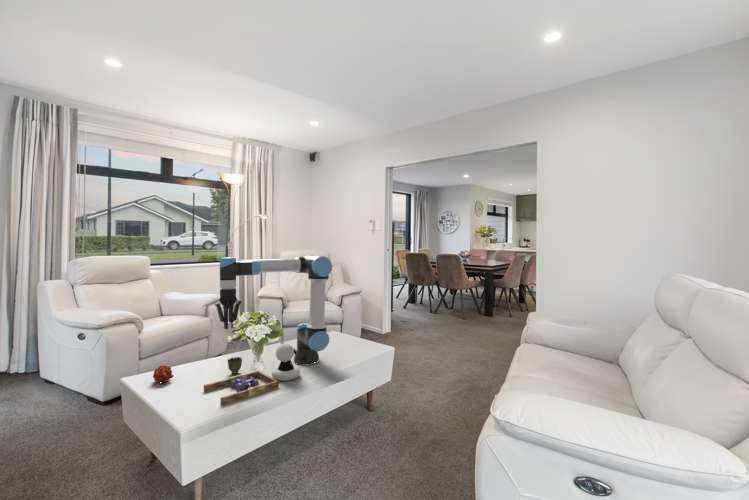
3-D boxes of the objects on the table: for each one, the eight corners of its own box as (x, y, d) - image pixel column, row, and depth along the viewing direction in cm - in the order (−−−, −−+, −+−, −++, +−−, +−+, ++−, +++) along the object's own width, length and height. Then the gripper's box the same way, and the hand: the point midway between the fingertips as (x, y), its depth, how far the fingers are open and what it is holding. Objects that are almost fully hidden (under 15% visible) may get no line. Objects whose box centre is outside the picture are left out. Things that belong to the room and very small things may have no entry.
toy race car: (244, 381, 181) (244, 369, 181) (259, 390, 170) (259, 376, 170) (226, 387, 174) (226, 373, 174) (240, 396, 163) (240, 382, 163)
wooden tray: (258, 376, 187) (258, 369, 187) (278, 387, 173) (278, 380, 173) (203, 391, 167) (203, 384, 167) (221, 405, 153) (221, 397, 153)
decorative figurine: (305, 377, 186) (305, 340, 186) (280, 384, 176) (280, 345, 176) (291, 370, 197) (291, 334, 197) (266, 376, 187) (267, 339, 187)
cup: (225, 373, 191) (225, 358, 191) (238, 370, 196) (238, 355, 196) (230, 376, 186) (231, 361, 186) (244, 373, 191) (244, 358, 191)
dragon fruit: (163, 380, 184) (165, 391, 175) (147, 373, 180) (149, 384, 170) (174, 366, 186) (177, 376, 177) (159, 359, 182) (161, 369, 172)
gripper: (237, 286, 182) (237, 331, 183) (211, 288, 173) (212, 336, 173) (244, 287, 177) (244, 333, 178) (218, 290, 168) (218, 339, 168)
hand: (228, 335), depth 176 cm, fingers closed
